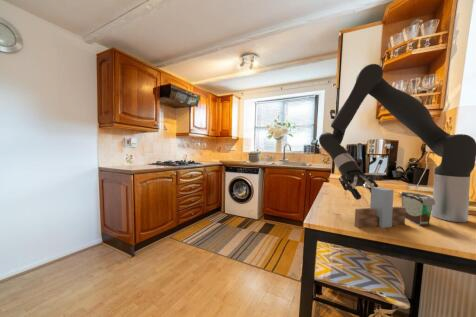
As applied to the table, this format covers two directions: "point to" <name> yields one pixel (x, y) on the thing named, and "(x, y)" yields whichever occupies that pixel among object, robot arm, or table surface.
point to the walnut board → (369, 217)
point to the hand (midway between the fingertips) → (368, 198)
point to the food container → (417, 207)
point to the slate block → (382, 205)
